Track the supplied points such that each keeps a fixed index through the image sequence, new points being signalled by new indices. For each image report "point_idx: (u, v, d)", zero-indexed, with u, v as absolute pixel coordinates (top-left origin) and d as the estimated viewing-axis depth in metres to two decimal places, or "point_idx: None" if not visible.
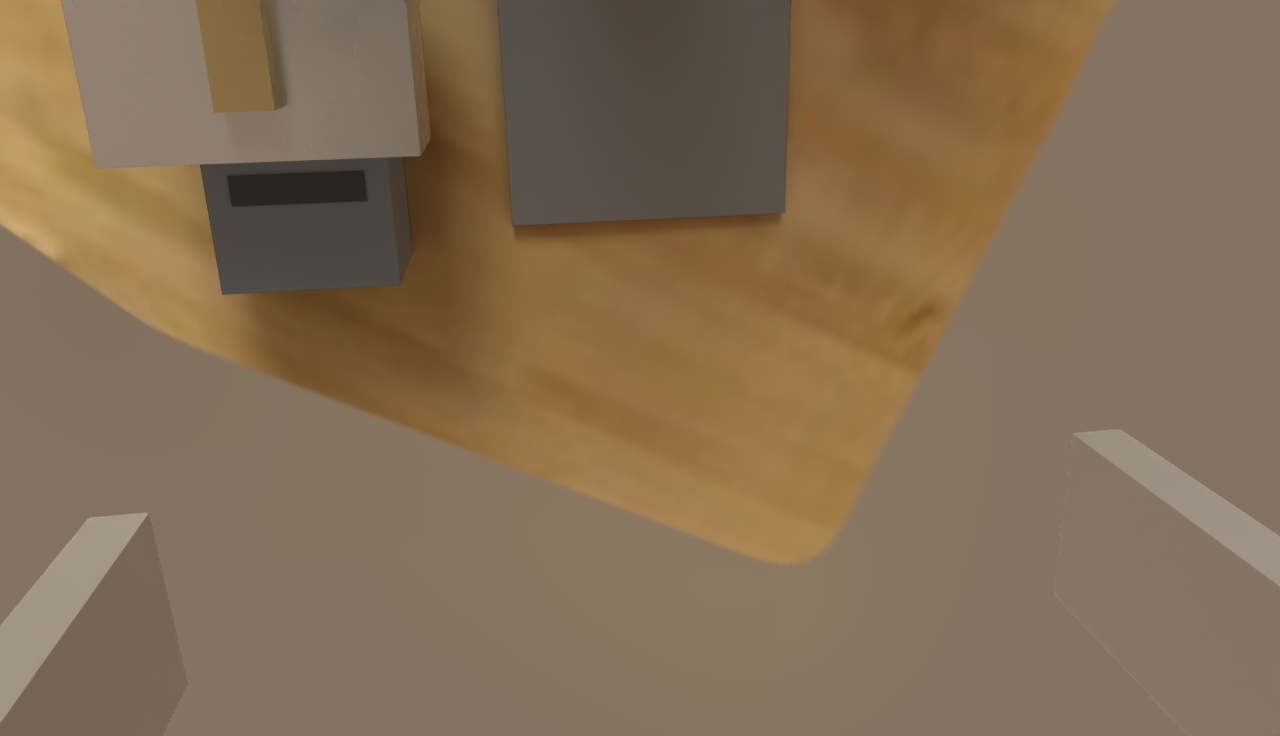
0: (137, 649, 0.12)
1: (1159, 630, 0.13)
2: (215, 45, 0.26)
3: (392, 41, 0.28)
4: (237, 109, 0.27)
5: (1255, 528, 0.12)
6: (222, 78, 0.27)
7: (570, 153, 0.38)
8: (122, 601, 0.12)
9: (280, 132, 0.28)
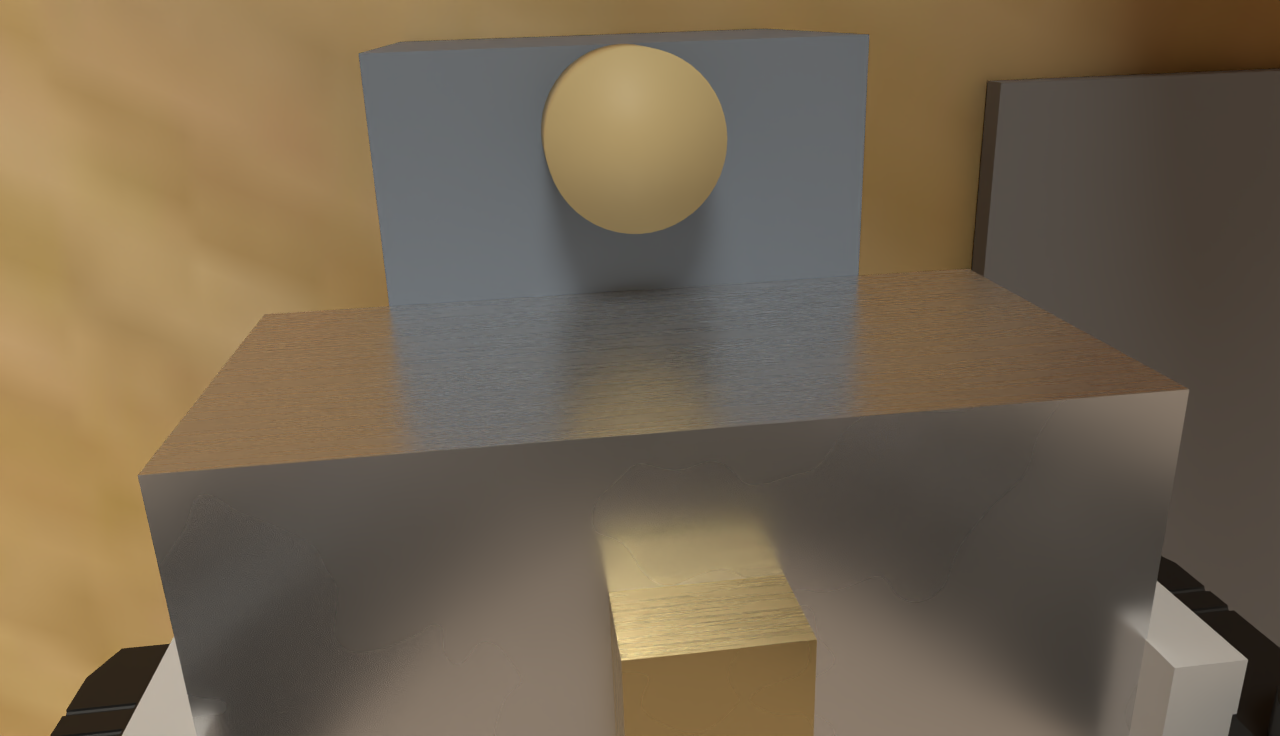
0: None
1: None
2: None
3: None
4: None
5: None
6: None
7: None
8: None
9: None
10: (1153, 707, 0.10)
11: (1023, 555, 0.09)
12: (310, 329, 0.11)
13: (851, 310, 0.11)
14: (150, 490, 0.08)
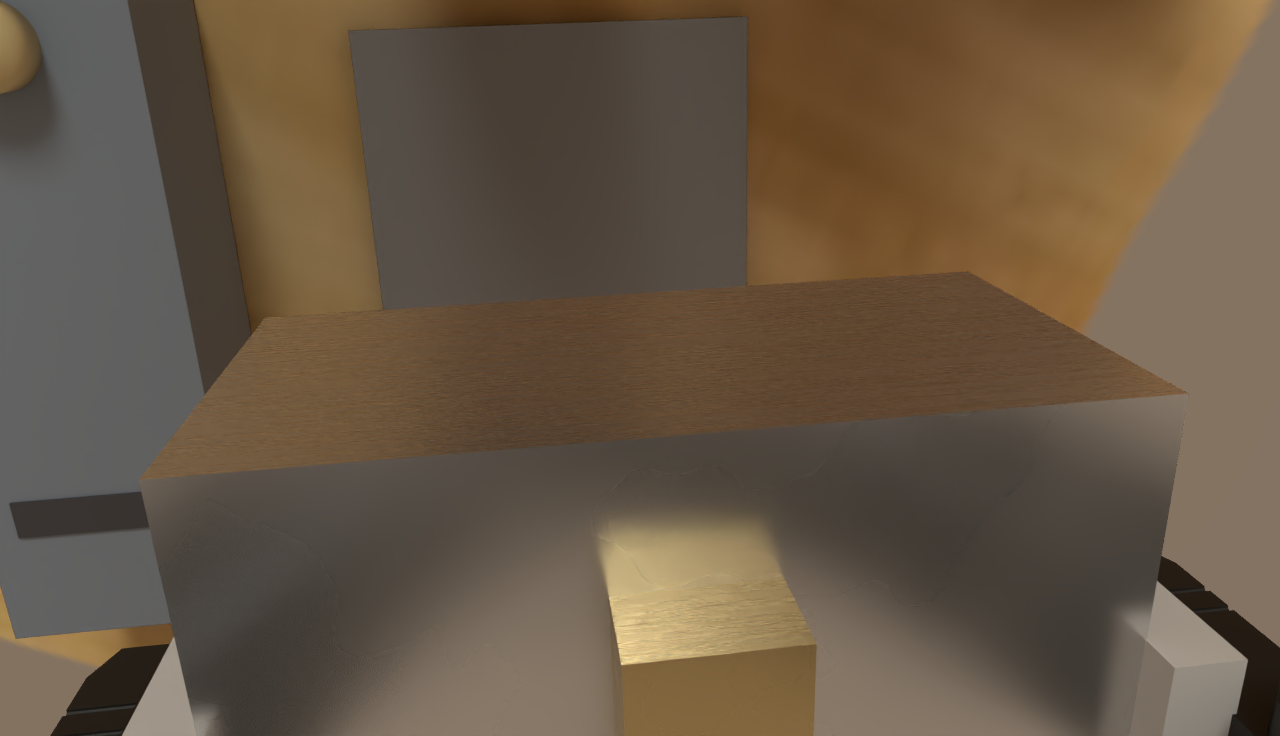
0: None
1: None
2: None
3: None
4: None
5: None
6: None
7: None
8: None
9: None
10: (1153, 707, 0.10)
11: (1022, 559, 0.09)
12: (310, 333, 0.11)
13: (850, 313, 0.11)
14: (151, 494, 0.08)
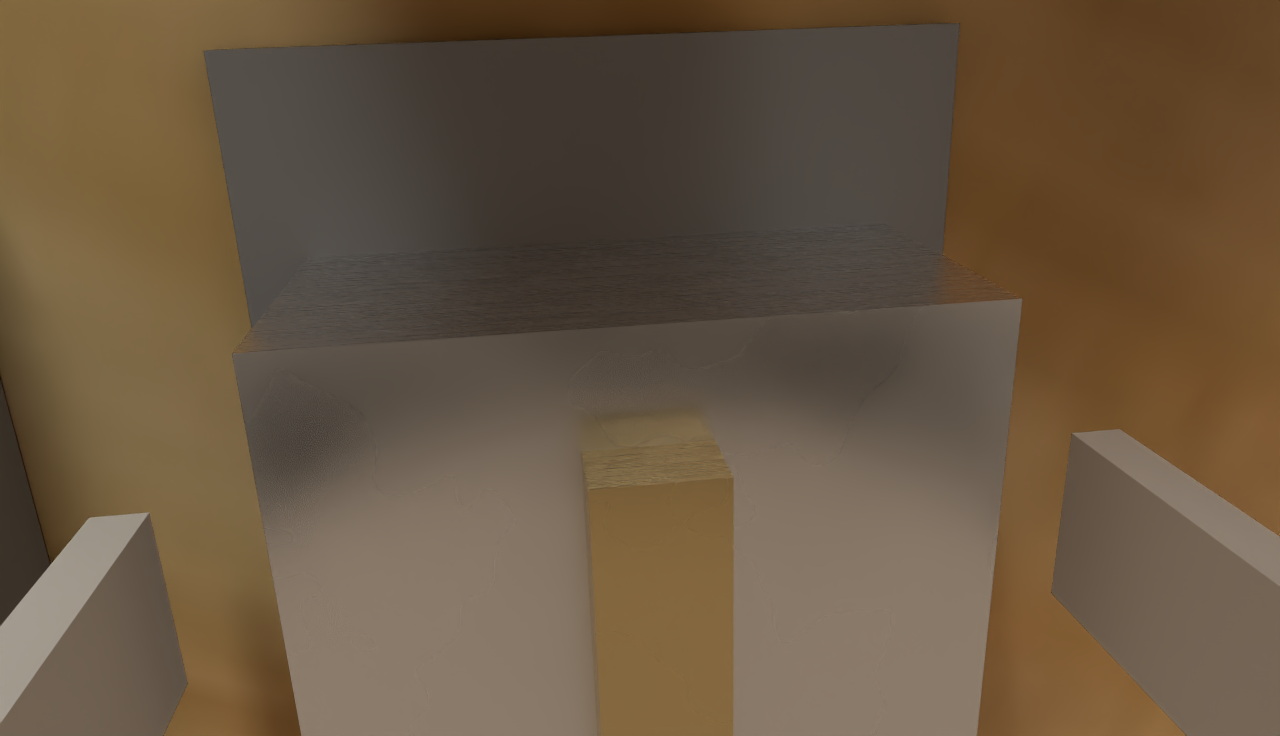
0: (137, 649, 0.12)
1: (1159, 630, 0.13)
2: (627, 733, 0.12)
3: (952, 647, 0.13)
4: None
5: (1255, 528, 0.12)
6: None
7: None
8: (122, 601, 0.12)
9: None
10: None
11: (900, 429, 0.12)
12: (346, 267, 0.14)
13: (781, 252, 0.14)
14: (240, 365, 0.11)
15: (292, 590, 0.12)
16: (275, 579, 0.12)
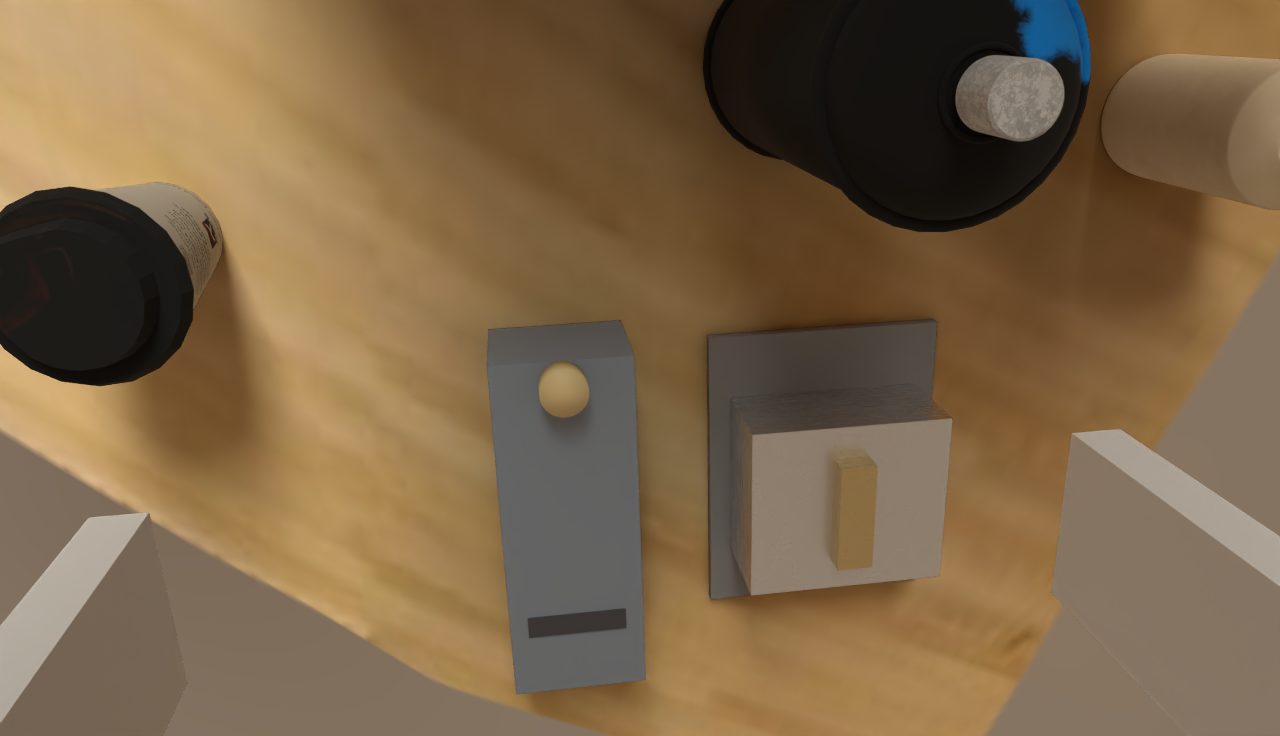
0: (137, 649, 0.12)
1: (1159, 629, 0.13)
2: (846, 535, 0.44)
3: (934, 516, 0.45)
4: (851, 567, 0.44)
5: (1255, 528, 0.12)
6: (846, 552, 0.44)
7: None
8: (122, 601, 0.12)
9: (860, 569, 0.46)
10: None
11: (919, 453, 0.44)
12: (747, 402, 0.46)
13: (881, 397, 0.46)
14: (754, 437, 0.43)
15: (756, 496, 0.44)
16: (751, 494, 0.44)
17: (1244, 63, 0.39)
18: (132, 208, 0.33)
